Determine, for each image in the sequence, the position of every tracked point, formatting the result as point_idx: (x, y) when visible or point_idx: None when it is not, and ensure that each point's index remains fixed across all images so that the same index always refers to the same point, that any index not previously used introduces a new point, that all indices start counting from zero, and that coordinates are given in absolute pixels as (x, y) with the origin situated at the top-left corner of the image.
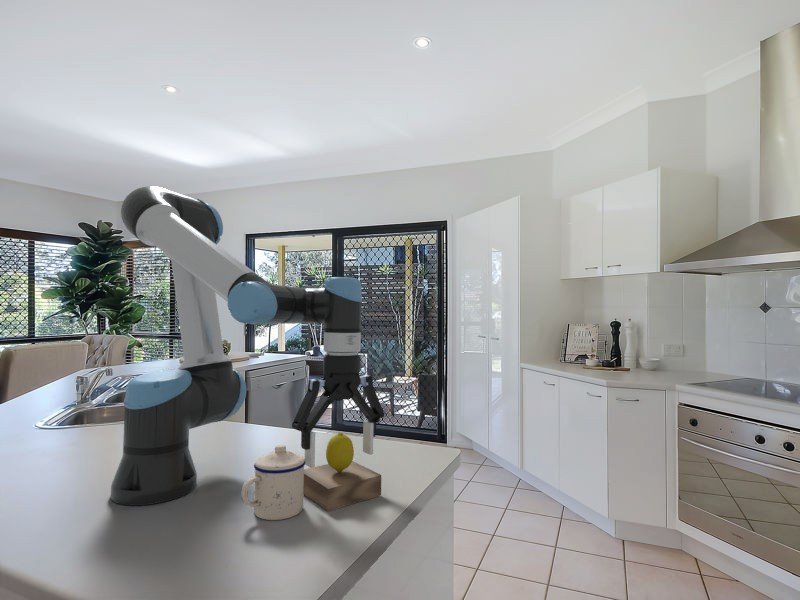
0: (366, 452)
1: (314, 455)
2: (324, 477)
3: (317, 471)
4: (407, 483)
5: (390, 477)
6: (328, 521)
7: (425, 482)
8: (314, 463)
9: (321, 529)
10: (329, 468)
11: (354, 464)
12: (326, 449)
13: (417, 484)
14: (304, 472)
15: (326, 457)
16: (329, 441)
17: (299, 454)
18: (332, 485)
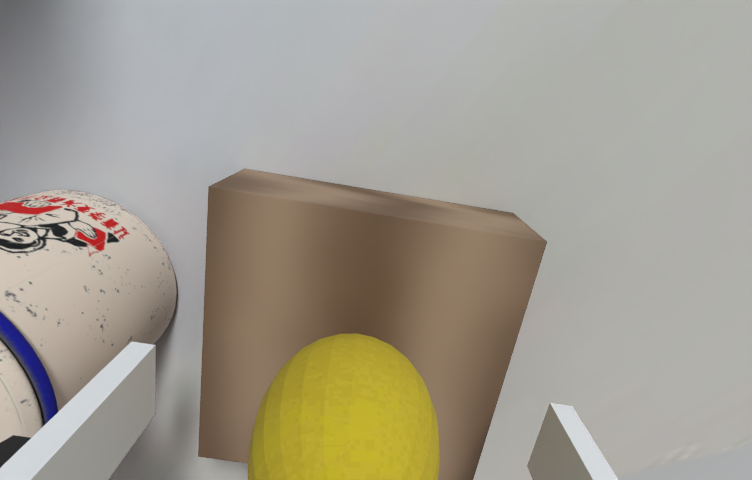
0: (540, 438)
1: (112, 468)
2: (259, 356)
3: (280, 270)
4: (615, 420)
5: (635, 337)
6: (192, 442)
7: (665, 456)
8: (143, 428)
9: (148, 462)
10: (358, 278)
11: (497, 323)
12: (264, 409)
13: (629, 448)
14: (216, 234)
15: (271, 383)
16: (259, 475)
17: (10, 428)
18: (232, 442)
